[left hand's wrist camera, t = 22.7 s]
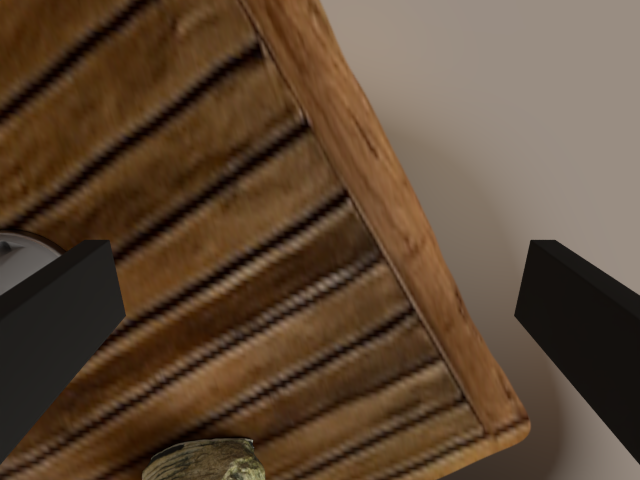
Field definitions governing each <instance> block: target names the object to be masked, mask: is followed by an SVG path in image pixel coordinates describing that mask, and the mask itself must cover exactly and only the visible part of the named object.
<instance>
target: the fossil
mask: <svg viewBox="0 0 640 480" xmlns="http://www.w3.org/2000/svg"><path fill="white" fill-rule="evenodd" d="M252 444H253V440H250V439H244V438H239V439H233V438H224V439H213V440H197V441H190V442H184V443H179V444H176V445H173V446H171V447H169V448H167V449H165V450H164V451H162V452H160V453H157V454H156V455H155V456H153V457H152V458H151V461H150V463H149V465H148V466H147V467H146V468H145V469H144V470H143V473H142V480H265V470H264V468H263V465H262V464H261V463H260V461H259V460H258V459H257V457H256V456H255V455H254V447H253V445H252Z"/></svg>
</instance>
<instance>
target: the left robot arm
mask: <svg viewBox="0 0 640 480" xmlns="http://www.w3.org/2000/svg"><path fill="white" fill-rule="evenodd" d="M125 316H126V314H125V310H124V305H123V300H122V296H121V291H120V287H119V282H118V277H117V273H116V268H115V264H114V259H113V254H112V250H111V245H110V241H109V240H84V241H82V242H81V243H79V244H78V245H76V246H75V247H73V248H72V249H70V250H69V251H67V252H66V251H65V250H63V249H62V248H61V247H59V246H58V245H56V244H55V243H53V242H51V241H50V240H48V239H46V238H43V237H41V236H39V235H36V234H33V233H30V232H26V231H20V230H0V464H1V463H2V462H3V461H4V460H5V458H6V457H7V456H8V455H9V454H10V453H11V451H12V450H13V449H14V448H15V447H16V445H17V444H18V443H19V442H20V441H21V439H22V438H23V437H24V436H25V435H26V434H27V432H28V431H29V430H30V429H31V428H32V426H33V425H34V424H35V423H36V422H37V420H38V419H39V418H40V417H41V416H42V415H43V413H44V412H45V411H46V410H47V409H48V407H49V406H50V405H51V404H52V403H53V402H54V400H55V399H56V398H57V397H58V396H59V394H60V393H61V392H62V391H63V390H64V388H65V387H66V386H67V385H68V384H69V383H70V381H71V380H72V379H73V378H74V377H75V375H76V374H77V373H78V372H79V371H80V369H81V368H82V367H83V366H84V365H85V364H86V362H87V361H88V360H89V359H90V358H91V356H92V355H93V354H94V353H95V352H96V351H97V349H98V348H99V347H100V346H101V345H102V343H103V342H104V341H105V340H106V339H107V337H108V336H109V335H110V334H111V333H112V332H113V330H114V329H115V328H116V327H117V326H118V324H119V323H120V322H121V321H122V320H123V318H124V317H125ZM514 316H515V317H516V318H517V320H518V321H519V322H520V323H521V324H522V326H523V327H524V328H525V329H526V330H527V332H528V333H529V334H530V335H531V336H532V337H533V339H534V340H535V341H536V342H537V343H538V345H539V346H540V347H541V348H542V349H543V351H544V352H545V353H546V354H547V355H548V356H549V358H550V359H551V360H552V361H553V362H554V364H555V365H556V366H557V367H558V368H559V369H560V371H561V372H562V373H563V374H564V375H565V377H566V378H567V379H568V380H569V381H570V383H571V384H572V385H573V386H574V387H575V388H576V390H577V391H578V392H579V393H580V394H581V396H582V397H583V398H584V399H585V400H586V401H587V403H588V404H589V405H590V406H591V407H592V409H593V410H594V411H595V412H596V413H597V415H598V416H599V417H600V418H601V419H602V420H603V422H604V423H605V424H606V425H607V426H608V428H609V429H610V430H611V431H612V432H613V434H614V435H615V436H616V437H617V438H618V439H619V441H620V442H621V443H622V444H623V445H624V446H625V448H626V449H627V450H628V451H629V453H630V454H631V455H632V456H633V457H634V458H635V460H636V461H637V462H638V463H639V464H640V295H638V294H637V293H635V292H634V291H632V290H631V289H629V288H627V287H626V286H625V285H623V284H621V283H620V282H618V281H617V280H615V279H614V278H612V277H611V276H609V275H608V274H606V273H605V272H603V271H602V270H600V269H599V268H597V267H596V266H594V265H593V264H591V263H590V262H588V261H586V260H585V259H583V258H582V257H580V256H579V255H577V254H576V253H574V252H573V251H571V250H570V249H568V248H567V247H565V246H564V245H562V244H561V243H559V242H558V241H556V240H531V241H530V245H529V250H528V254H527V259H526V264H525V268H524V273H523V277H522V282H521V287H520V291H519V296H518V300H517V305H516V310H515V314H514Z"/></svg>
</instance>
